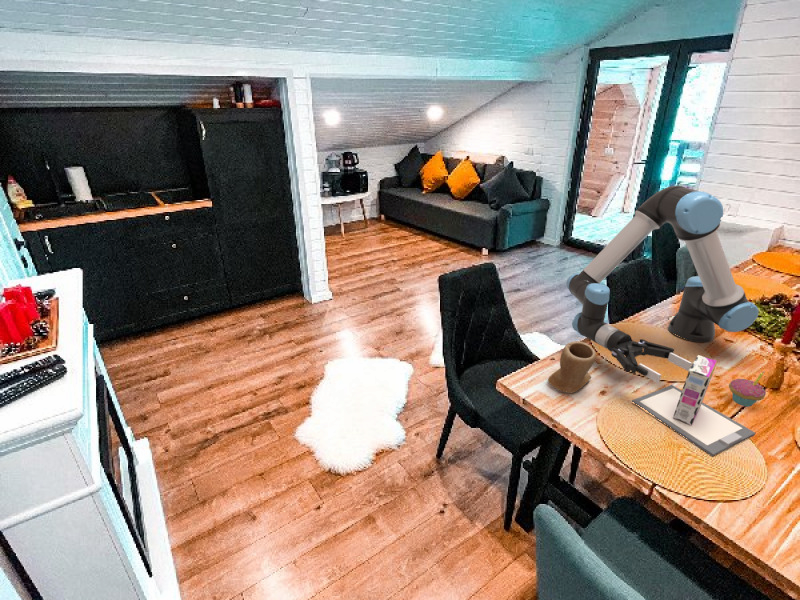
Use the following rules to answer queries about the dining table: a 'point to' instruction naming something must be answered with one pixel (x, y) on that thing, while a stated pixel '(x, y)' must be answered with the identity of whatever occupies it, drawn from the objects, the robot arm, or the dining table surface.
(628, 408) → the dining table surface
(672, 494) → the dining table surface
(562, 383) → the stone cup
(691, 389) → the candy bar box
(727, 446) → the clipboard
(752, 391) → the cupcake
